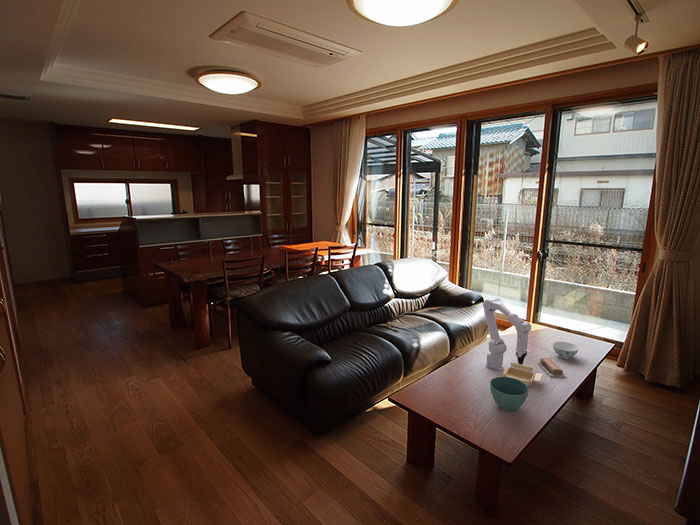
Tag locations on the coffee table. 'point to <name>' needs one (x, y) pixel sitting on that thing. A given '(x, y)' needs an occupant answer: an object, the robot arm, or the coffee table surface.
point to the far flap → (538, 377)
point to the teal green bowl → (508, 392)
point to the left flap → (522, 366)
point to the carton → (520, 375)
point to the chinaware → (565, 349)
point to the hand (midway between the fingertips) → (520, 363)
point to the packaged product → (551, 368)
